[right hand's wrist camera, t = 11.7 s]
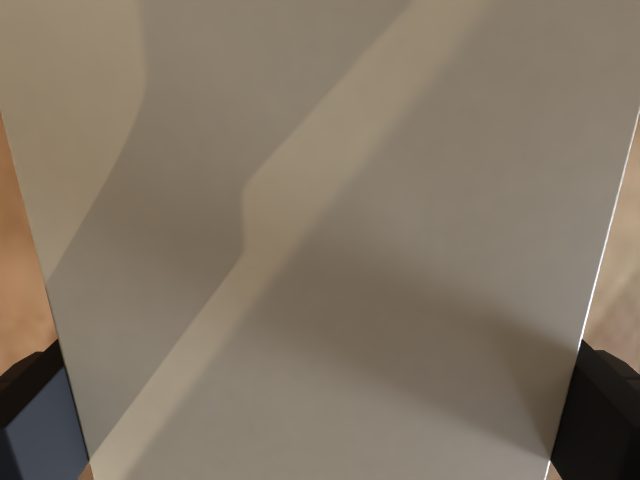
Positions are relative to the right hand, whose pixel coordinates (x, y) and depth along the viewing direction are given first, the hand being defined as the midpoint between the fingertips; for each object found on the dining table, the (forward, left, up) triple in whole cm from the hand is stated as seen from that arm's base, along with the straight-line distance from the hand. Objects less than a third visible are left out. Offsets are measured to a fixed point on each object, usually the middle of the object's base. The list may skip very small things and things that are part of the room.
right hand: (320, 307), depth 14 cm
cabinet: (+4, -4, -5) cm, 8 cm away
